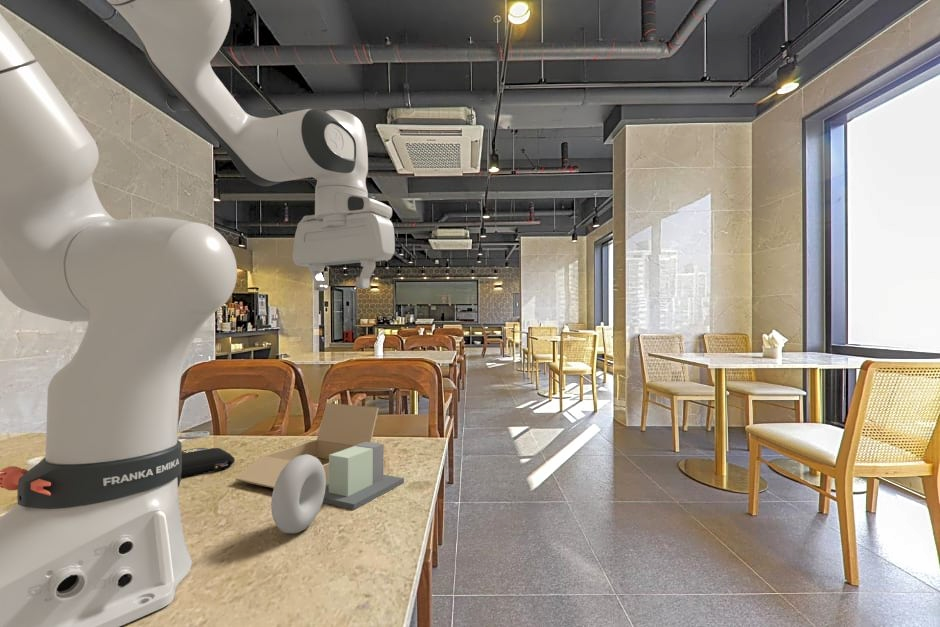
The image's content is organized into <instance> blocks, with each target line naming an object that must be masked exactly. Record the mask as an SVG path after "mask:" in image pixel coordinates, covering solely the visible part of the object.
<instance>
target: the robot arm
mask: <svg viewBox="0 0 940 627" xmlns="http://www.w3.org/2000/svg"><path fill="white" fill-rule="evenodd" d="M106 2H108V3H109V4H110V6H112V7H113V8H114V9H115V10H116V11H117V12H118V13H119V14H120V15H121V16H122V17H123V19H124V20H126V22H127V23H128V24H129V25H130V27H132V28H133V30H134V31H135V33H136V34H137V36H138V37H139V39H140V40H141V44H142V50H143V52H144V53H143V54H144V56H145V57H146V59H147V61H148V62H149V64H150V65H151V67H152V69H153V70H154V71H155V72H156V73H157V75H158V76H159V78H161V80H162V81H163V82H164V84H166V86H167V87H168V88H169V89H170V90H171V92H173V94H174V95H175V96H176V97H177V98H178V99H179V101H181V102H182V104H183V105H184V106H185V107H186V108H187V109H188V110H189V111H190V112H191V114H192V115H193V116H194V117H195V118H196V119H197V120H198V121H199V122H200V123H201V124H202V125H203V127H204V128H206V130H207V131H208V132H209V133H210V134H211V135H212V136H213V138H214V139H215V140H216V141H217V142H218V144H220V146H221V147H222V148H223V149H224V151H225V152H226V154H227V156H228V157H229V158H230V160H231V162H232V163H233V165H234V166H235V168H236V169H237V170H238V171H239V173H240V174H241V175H242V176H244V178H246V179H247V180H248V181H249V182H250V183H253V184H254V185H257V186H261V187H271V186H274V185H278V184H281V183H285V182H288V181H295V180H301V179H309V178H313V179H315V180H316V185H315V188H314V189H315V190H314V192H315V194H314V214H312V215H304V216H303V217H302V219H301V220H300V221H299V222H298V223H297V228H296V230H295V234H294V240H293V249H292V261H293V262H294V264H295V265H296V266H297V267H298V266H299V267H303V268H304V267H305V268H308V272H309V274H310V275H311V277H312V279H313V290H314V291H317V292H323V291H327V290H328V284H329V283H328V280H325V279H324V277H323V274H322V273H323V272H324V267H325V266H337V265H338V266H339V265H348V264H349V265H350V264H356V263H357V264H358V263H360V267H363V268H362V269H361V272H360V275H359V276H357V277H355V282H356V283H355V287H356V289H369V288H370V286H371V285H370V283H371V282H370V279H371V277H372V275H373V273H374V271H375V269H376V262H378V261H379V262H380V261H389V260H391V259H392V257H394V255H395V251H396V250H395V248H396V243H395V241H396V240H395V228H394V225H393V222H392V220H390V219H391V218H392V216H393V209H392V207H391V206H390V205H387V204H386V203H384V202H382V201H379V200H376V199H373V198H371V197H368V196H369V192H368V189H367V183H366V181H367V176H368V173H369V157H368V156H369V155H368V154H369V153H368V145H367V144H368V143H367V142H368V141H367V136H366V132H365V128H364V124H363V123H362V121H361V119H360V118H358V117H357V116H355V115H354V114H352V113H350V112H348V111H346V110H342V109H329V110H327V111H325V110H322V109H319V108H305V109H301V110H296V111H295V110H294V111H291V112H287V113H285V114H280V115H279V114H278V115H275V116H270V117H266V118H265V117H257V116H253V115H252V114H251V115H250V114H249V113H247V112H246V111H244V109H243V108H242V107H241V105H240V104H239V103H238V102H237V101H236V100H237V99H235V98H234V97H233V95H232V93H231V92H230V91H229V90H228V89H227V87H225V85H224V83H223V82H222V81H221V80H220V78H219V77H218V75H216V73H215V71H214V70H213V68H212V65H211V61H212V59H214V57H215V56H216V54H217V53H218V52H219V50H220V48H221V47H222V45H223V44H224V41H225V39H226V38H227V37H226V36H227V35H228V32H229V30H230V25H231V18H232V16H231V15H232V7H231V1H230V0H106ZM99 154H100V153H99V149H98V146H97V143H96V141H95V139H94V138H93V136H92V135H91V133H90V132H89V131H88V129H87V128H86V126H85V124H83V122H82V121H81V120H80V118H79V117H78V116H77V114H76V113H75V111H74V110H73V109H72V107H71V106H70V105H69V102H68V101H67V100H66V99H65V98H64V96H63V94H62V93H61V92H60V90H59V88H57V86H56V84H54V82H53V81H52V79H51V78H50V76H49V75H48V74H47V73H46V71H45V70H44V68H43V67H42V65H41V64H40V62H39V61H38V60H36V57H35V56H34V55H33V53H32V52H31V49H29V48H28V46H27V45H26V44H25V42H24V41H23V40H22V39H21V37H20V36H19V35H18V33H17V32H16V31H15V30H14V28H13V27H12V25H11V24H10V23H9V22H8V20H7V19H6V17H4V16H3V12H2V9H0V292H1V293H2V294H3V295H4V296H5V298H6V299H7V300H8V301H9V302H10V303H12V304H13V305H14V306H16V307H17V308H20V309H22V310H24V311H26V312H29V313H33V314H36V315H39V316H43V317H46V318H47V317H48V318H51V319H56V320H58V321H65V322H74V323H76V322H78V323H79V322H80V323H81V322H83V323H84V322H87V327H86V329H85V333H84V335H83V337H82V340H81V342H80V345H79V347H78V349H77V350H76V352H75V354H74V355H73V357H72V358H71V360H70V361H69V362H68V363H67V364H66V365H65V366H63V367H62V368H61V369H59V370H58V371H57V372H56V373H55V374H54V375H53V376H52V378H51V379H50V381H49V384H48V388H47V401H46V403H47V405H46V431H45V432H46V433H45V434H46V435H45V440H46V441H45V456H44V457H43V459H41V460H40V461H38V463H36V464H35V465H34V466H33V467H31V468H30V469H29V470H27V469H25V468H21V467H19V466H14V465H13V466H7V467H5V468H3V469H1V470H0V488H2V489H5V490H7V491H17V497H16V498H17V505H15V506H13V507H12V508H11V509H10V510H9V511H7V512H6V513H5V514H4V515H2V516H0V627H121V626H124V625H126V624H129V623H131V622H133V621H136V620H138V619H140V618H143V617H145V616H147V615H149V614H151V613H154V612H156V611H159V610H160V609H163V608H165V607H166V606H168V605H170V604H171V603H172V601H173V600H174V599H175V595H176V588H177V586H178V585H179V584H180V582H182V580H183V579H184V578H185V577H186V576H187V575H188V573H190V571H191V568H192V564H193V561H192V557H191V554H190V552H189V549H188V544H187V543H186V542H187V541H186V539H185V534H184V529H183V523H182V516H181V508H180V507H181V506H180V497H179V487H180V484H181V480H182V478H181V473H182V451H183V449H182V441H180V439H178V430H179V429H178V428H179V427H178V426H179V411H180V410H179V407H180V391H181V380H182V374H183V369H184V367H185V363H186V359H187V357H188V355H189V352H190V349H191V348H192V345H193V342H194V341H195V339H196V337H197V335H198V333H199V332H200V330H201V328H202V327H203V326H204V325H205V323H206V322H207V321H208V319H210V317H211V316H212V315H213V314H214V313H215V312H217V311H218V310H219V309H221V308H222V307H223V306H224V305H226V303H227V302H228V301H229V299H230V298H231V297H232V294H233V292H234V289H235V287H236V284H237V278H238V268H237V267H238V266H237V265H238V264H237V259H236V257H235V253H234V252H233V249H232V247H231V246H230V244H229V243H228V241H227V240H226V238H225V237H224V236H223V235H222V234H221V233H220V232H219V231H218V230H217V229H215V228H214V227H211V226H210V225H208V224H205V223H201V222H195V221H191V220H186V219H179V218H173V217H165V216H150V217H139V218H136V217H135V218H125V219H122V218H121V219H116V218H114V216H113V217H112V216H111V215H110V213H108V212H107V210H106V209H105V208H104V206H103V204H102V203H101V201H100V199H99V196H98V194H97V191H96V189H95V186H94V182H93V176H92V175H93V174H94V173H95V170H96V169H97V166H98V163H99V159H100V155H99Z"/></svg>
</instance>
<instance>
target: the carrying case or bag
mask: <svg viewBox="0 0 940 627" xmlns="http://www.w3.org/2000/svg"><path fill="white" fill-rule="evenodd" d="M235 461H236V460H235V457H234V456H233V455H232V454H231V453H229V452H227V451H225V450H224V449H221V448H220V447H214V448H213V447H212V448H208V449H205V450H200V451H194V452H188V453H182V473H181V479H183V478H188V477H193V476H197V475H198V476H199V475H202V474H207V473H210V472H211V473H212V472H217V471H221V470H222V471H223V470H225V469H229V468H231V467H232V465H233V464H234V463H235Z"/></svg>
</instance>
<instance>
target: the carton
mask: <svg viewBox="0 0 940 627" xmlns="http://www.w3.org/2000/svg"><path fill="white" fill-rule="evenodd" d="M379 408H380V407H375V406H365V405H354V404H344V403H342V404H341V403H333V402H331V403H330V402H326V403H325V408H324V412H323V414H322V415H323V416H322V419H321V423H320V426H319V430H318V435H317V437H316V439H314V440H311V441H307V442H304V443H301V444H298V445H297V444H296V445H295V446H294V445H293V446H290V447H287V448H285V449H281V450H280V449H279V450H278V451H274V452H270V453H267V454H263V455H261V456H259V458H258V459H256V460H255V461H254V462H253V463H252V464H251V465H249V466H248V467H247V468H246V469H245V470H243V471H242V472H241V473H240V474H239V475H238V476H236V477H235V480H236V481H238V482H239V481H240V482H243V483H248V484H252V485H257V486H261V487H267V488H271V489H274V486H275V483H276V480H277V478H278V476H279V474H280V472H281V471H282V470H283V468H284V467H285V466H286V464H287V463H288V462H290V461H291V460H292V459H294V458H295V457H297V456H301V455H306V454H308V455H312V456H314V457H316V458H318V459H319V458H320V459H326V460H329V455H330V454H333V453H336V452H339V451H342V450H345V449H347V448H350V447H353V446H355V445H357V444H360V443H363V442H371V443H372V440H373V435H374V431H375V427H376V422H377V418H378V413H379ZM322 465H323V467H324V471H325V475H326V485H327V484H329V462H327V463H324V464H322Z"/></svg>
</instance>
